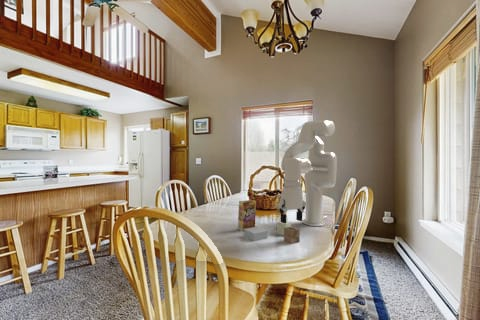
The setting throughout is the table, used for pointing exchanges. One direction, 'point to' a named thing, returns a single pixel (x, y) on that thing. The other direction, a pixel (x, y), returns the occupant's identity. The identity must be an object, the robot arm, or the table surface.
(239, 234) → the table surface
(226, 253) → the table surface
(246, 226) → the candy box
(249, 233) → the pedestal block
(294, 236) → the walnut block
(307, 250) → the table surface
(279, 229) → the sage block
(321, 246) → the table surface
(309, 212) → the robot arm
